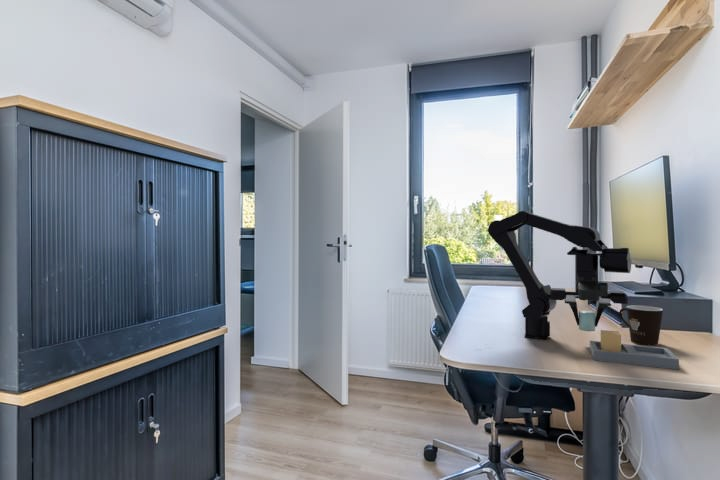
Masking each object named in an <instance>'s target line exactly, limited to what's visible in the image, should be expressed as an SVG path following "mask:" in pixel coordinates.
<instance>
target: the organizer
mask: <svg viewBox="0 0 720 480" xmlns="http://www.w3.org/2000/svg"><path fill="white" fill-rule="evenodd" d="M589 351H590V355H591V356H592V359H593V361H601V362H608V363H616V364H617V363H619V364H626V365H635V366H643V367H644V366H645V367H650V368H651V367H652V368H659V369H662V368H663V369H669V370H670V369H671V370H680V358H678V357H677V356H676V355H675V354H674V353H673V352H672V351H671V350H670V349H668V348H667V347H659V346H651V345H641V344H638V345H637V344H630V343H629V344H628V343H621V352H614V351H605V350H601V341H598V340H589Z"/></svg>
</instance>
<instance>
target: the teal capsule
mask: <svg viewBox="0 0 720 480" xmlns="http://www.w3.org/2000/svg"><path fill="white" fill-rule="evenodd" d="M595 312H596V311H590V310H579V311H578V317H579V325H578V330H580V331H582V332H583V331H584V332H595V331H596V327H595Z"/></svg>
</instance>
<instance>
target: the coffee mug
mask: <svg viewBox="0 0 720 480" xmlns="http://www.w3.org/2000/svg"><path fill="white" fill-rule="evenodd" d="M623 311H626V313H627V315H626V316H627V321H628V322H627V321H626V319H625V318H624V317H623V315H622V313H623ZM663 311H664V309H663V308H661V307H655V306H649V305H633V304H632V305H627V306H625V308H621V309H620V310H619V312H618V315H619V317H620V320H621V321H622V323H623V324H625V325H626V326H627V327H628V329H629V337H630V341H631V342H632V343H633V344H636V345H637V344H638V345H640V346H651V345H652V346H651V347H654V346H658V345H659V341H660V333H661V326H662V319H663V314H664V313H663Z"/></svg>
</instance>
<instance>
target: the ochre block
mask: <svg viewBox="0 0 720 480" xmlns="http://www.w3.org/2000/svg"><path fill="white" fill-rule="evenodd" d="M600 342H601V350H605V351H614V352H621V344H622V335H621V333H620V331H619V330H617V331H616V330H604V329H601V330H600Z"/></svg>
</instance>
